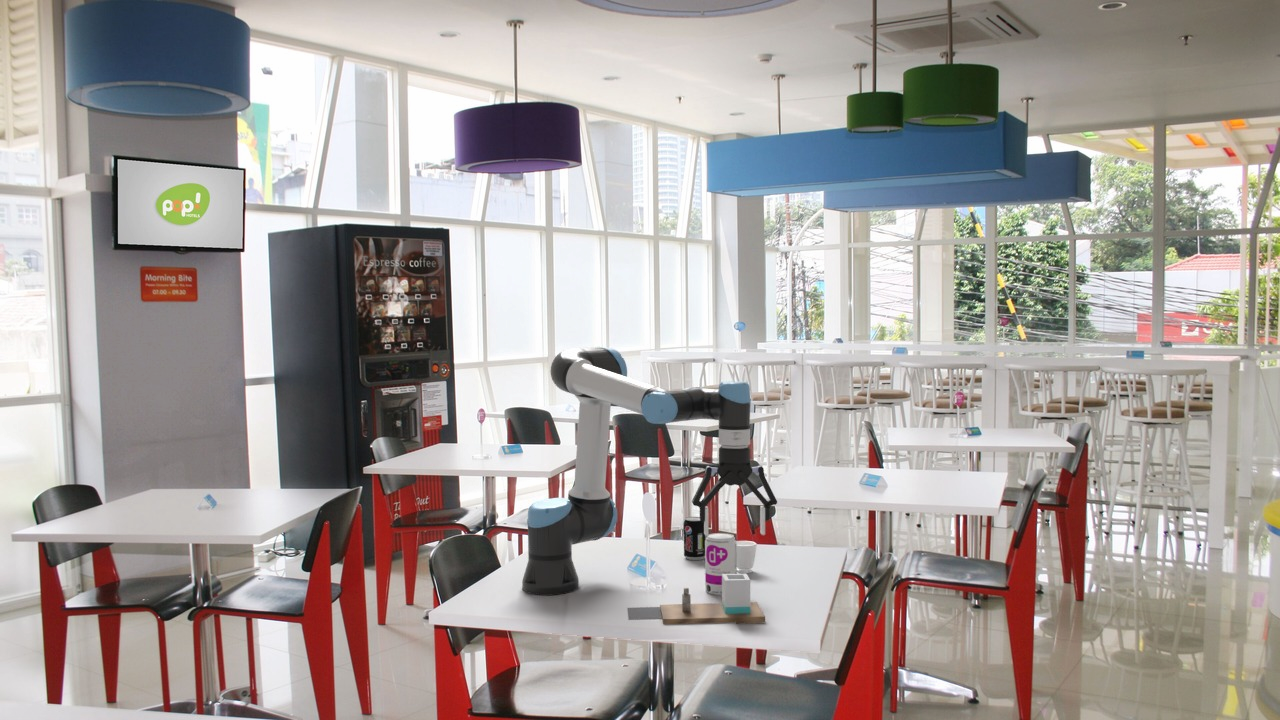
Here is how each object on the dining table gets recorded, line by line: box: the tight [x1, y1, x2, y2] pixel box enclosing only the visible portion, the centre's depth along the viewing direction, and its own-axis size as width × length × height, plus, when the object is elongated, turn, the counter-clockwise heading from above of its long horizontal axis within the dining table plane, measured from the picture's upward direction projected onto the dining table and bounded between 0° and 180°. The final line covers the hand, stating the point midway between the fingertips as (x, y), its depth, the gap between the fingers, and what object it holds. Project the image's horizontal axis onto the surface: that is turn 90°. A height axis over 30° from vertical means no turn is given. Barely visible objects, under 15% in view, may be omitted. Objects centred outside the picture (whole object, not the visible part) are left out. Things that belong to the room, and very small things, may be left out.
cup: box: [736, 540, 758, 574], centre depth 279 cm, size 7×10×8 cm
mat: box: [626, 606, 662, 621], centre depth 238 cm, size 10×10×1 cm
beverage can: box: [683, 516, 707, 561], centre depth 296 cm, size 7×7×12 cm
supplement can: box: [704, 532, 738, 596], centre depth 257 cm, size 8×8×15 cm
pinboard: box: [659, 587, 766, 625], centre depth 236 cm, size 24×12×7 cm, turn 92°
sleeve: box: [721, 573, 751, 614], centre depth 236 cm, size 6×6×8 cm
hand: (734, 534), depth 236 cm, fingers open, 13 cm apart
